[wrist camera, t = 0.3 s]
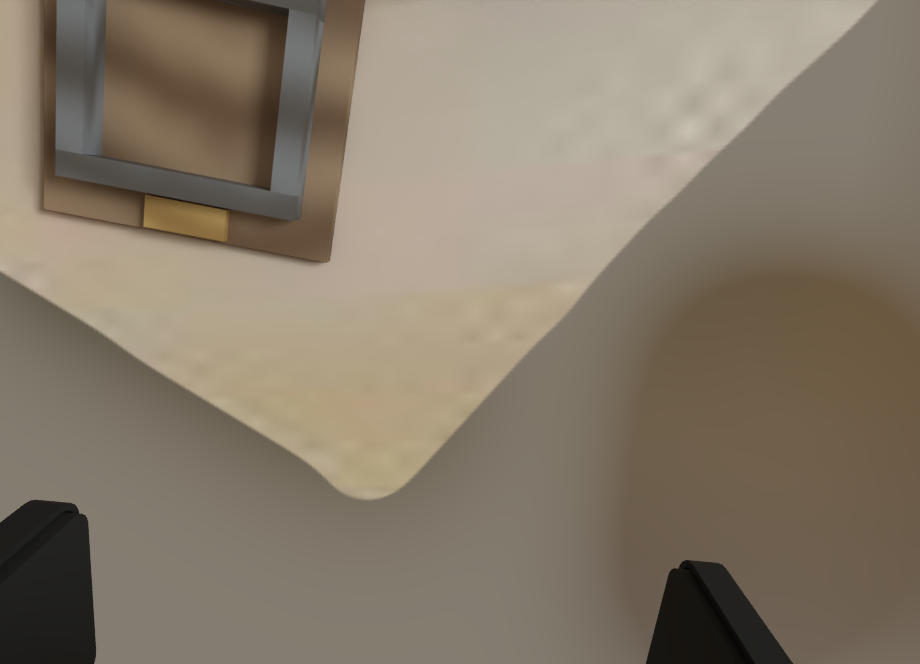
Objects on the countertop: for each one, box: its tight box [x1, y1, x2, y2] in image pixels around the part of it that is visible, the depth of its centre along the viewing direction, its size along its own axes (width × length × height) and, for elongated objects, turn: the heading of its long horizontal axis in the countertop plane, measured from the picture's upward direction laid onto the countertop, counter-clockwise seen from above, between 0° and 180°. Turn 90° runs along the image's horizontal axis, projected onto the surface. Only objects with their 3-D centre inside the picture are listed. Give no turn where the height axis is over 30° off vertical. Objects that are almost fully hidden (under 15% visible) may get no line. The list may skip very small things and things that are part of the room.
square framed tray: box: [44, 0, 365, 263], centre depth 34 cm, size 18×18×3 cm
